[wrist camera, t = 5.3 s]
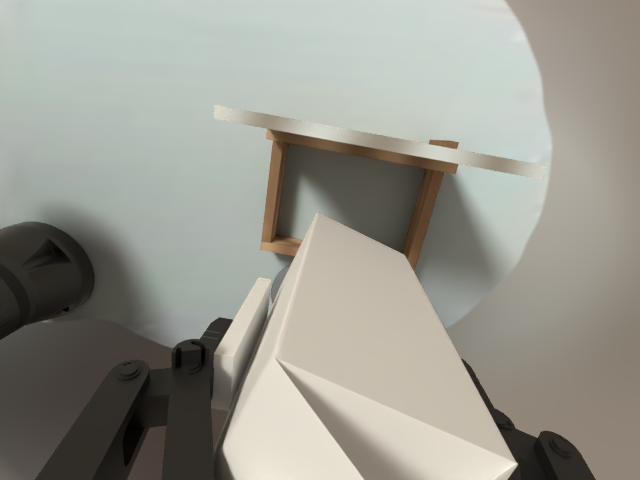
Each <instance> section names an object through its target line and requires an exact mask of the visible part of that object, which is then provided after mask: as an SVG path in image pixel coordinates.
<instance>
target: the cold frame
mask: <svg viewBox="0 0 640 480" xmlns="http://www.w3.org/2000/svg"><path fill="white" fill-rule="evenodd" d="M214 119H219V120H224V121H229V122H235V123H240V124H246V125H251V126H256V127H262V128H267V135H266V139H269V140H273V145H272V154H271V163H270V171H269V180H268V188H267V197H266V205H265V214H264V223H263V231H262V240H261V248H260V250H265V251H270V252H275V253H280V254H286V255H291V256H296V254H297V252H298V250H299V247H300V245H301V243H302V241H303V240H300V239H295V238H290V237H284V236H279V235H276V230H277V223H278V215H279V207H280V200H281V192H282V185H283V177H284V170H285V162H286V155H287V147H288V143H291V144H296V145H302V146H307V147H312V148H318V149H323V150H329V151H334V152H339V153H345V154H350V155H356V156H361V157H366V158H372V159H377V160H382V161H388V162H393V163H399V164H404V165H409V166H415V167H420V168H426V171H425V174H424V178H423V181H422V185H421V188H420V192H419V195H418V199H417V202H416V206H415V209H414V213H413V216H412V220H411V223H410V227H409V230H408V234H407V237H406V241H405V244H404V248H403V251H402V254H404V255H405V256H406V258H407V260H408V262H409V263H410V265H411V267H412V269H413V271H414V270H415V266H416V263H417V260H418V257H419V253H420V250H421V247H422V244H423V240H424V237H425V234H426V231H427V227H428V224H429V221H430V217H431V214H432V211H433V208H434V204H435V201H436V198H437V195H438V191H439V188H440V185H441V182H442V178H443V175H444V172H447V173H452V174H455V173H456V170H457V167H458V164H462V165H467V166H472V167H478V168H483V169H489V170H494V171H499V172H505V173H510V174H516V175H521V176H526V177H532V178H537V179H543V177H544V174H545V172H546V170H547V167H548V166H544V165H539V164H533V163H528V162H523V161H517V160H512V159H506V158H501V157H496V156H490V155H485V154H479V153H474V152H468V151H463V150H458V149H457V147H458V144H459V142H453V141H444V140H430V142H429V144H425V143H420V142H414V141H409V140H403V139H398V138H393V137H387V136H382V135H376V134H371V133H366V132H360V131H355V130H349V129H344V128H338V127H333V126H328V125H322V124H317V123H311V122H306V121H301V120H295V119H290V118H284V117H279V116H273V115H268V114H263V113H257V112H252V111H246V110H241V109H236V108H230V107H225V106H219V105H214Z"/></svg>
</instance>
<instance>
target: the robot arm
mask: <svg viewBox="0 0 640 480" xmlns="http://www.w3.org/2000/svg"><path fill="white" fill-rule="evenodd" d="M93 285H94V275H93V270H92V267H91V264H90V262H89V259H88V257H87V256H86V254H85V253H84V251H83V250H82V248H81V247H80V246H79V245H78V244H77V243H76V242H75V241H74V240H73V239H72V238H71V237H70V236H68V235H67V234H66V233H64V232H63V231H61V230H59V229H57V228H55V227H53V226H51V225H48V224H45V223H40V222H23V223H19V224H15V225H12V226H8V227H5V228H3V229H0V340H2V339H3V338H5V337H7V336H8V335H10V334H11V333H13V332H15V331H16V330H18V329H20V328H21V327H23V326H26V325H30V324H34V323H37V322H41V321H44V320H48V319H52V318H55V317H59V316H62V315H65V314H67V313H69V312H71V311H73V310H74V309H76V308H77V307H79V306H80V305H82V304H83V303H85V302H86V301H87V299H88V298H89V297H90V295H91V293H92V290H93ZM270 287H271V279H266V278H260V277H258V279H257V281H256V283H255V284H254V286H253V288H252V289H251V291H250V293H249V295H248V296H247V298H246V300H245V301H244V303H243V305H242V306H241V308H240V310H239V312H238V313H237V315H236V317H235V318H234V320H232V319H226V318H220V317H219V318H218V319H216V320H215V321H213V322H212V323H211V324H210V325H209V327H208V328H207V330H206V331H205V332H204V334H203V335H202V337H201V338H200V340H199V339H190V340H185V341H183V342H181V343H178V344H177V345H176V346H175V347H174V348H173V351H172V367H171V368H166V369H157V370H150V368H149V366H148V364H147V363H145V362H144V361H140V360H130V361H126V362H123V363H121V364H119V365H117V366H115V367H114V368H113V369H112V370H111V371H110V372H109V374H108V375H107V376H106V378H105V379H104V381H103V382H102V384H101V385H100V386H99V388H98V390H97V391H96V392H95V394H94V395H93V397H92V398H91V400H90V401H89V403H88V404H87V405H86V407H85V408H84V410H83V411H82V413H81V414H80V416H79V417H78V418H77V420H76V421H75V423H74V424H73V426H72V427H71V429H70V430H69V431H68V433H67V434H66V436H65V437H64V438H63V440H62V441H61V443H60V444H59V446H58V447H57V449H56V450H55V452H54V453H53V455H52V456H51V457H50V459H49V460H48V462H47V463H46V464H45V466H44V468H43V469H42V470H41V472H40V473H39V475H38V476H37V477H36V479H35V480H127V478H128V476H129V474H130V471H131V469H132V467H133V464H134V462H135V459H136V457H137V455H138V453H139V451H140V448H141V446H142V443H143V441H144V439H145V437H146V434H147V432H148V430H149V427H157V426H165V425H167V429H166V440H165V449H164V461H163V471H162V480H215V478H214V458H213V439H212V421H211V420H212V419H211V408H214V409H220V410H225V411H230V409H231V406H232V404H233V402H234V399H235V397H236V394H237V392H238V389H239V387H240V384H241V382H242V379H243V377H244V374H245V372H246V369H247V367H248V364H249V362H250V360H251V357H252V355H253V352H254V350H255V347H256V345H257V342H258V340H259V337H260V335H261V332H262V330H263V327H264V325H265V322H266V320H267V313H268V305H269V296H270ZM460 359H461V358H460ZM461 360H462V362H463V364H464V366H465V368H466V370H467V372H468V373H469V375H470V377H471V379H472V381H473V383H474V385H475V387H476V388H477V390H478V392H479V394H480V396H481V398H482V400H483V401H484V403H485V405H486V407H487V409H488V411H489V413H490V414H491V416H492V418H493V420H494V422H495V424H496V426H497V428H498V429H499V431H500V433H501V435H502V437H503V439H504V441H505V442H506V444H507V446H508V448H509V450H510V452H511V454H512V455H513V457H514V459H515V461H516V462H517V463H518V465H517V467H516V468H515V470H514V471H513V473H512V474H511V475H510V477H509V478H508V480H596V479H595V478H594V476H593V474H592V473H591V471H590V469H589V467H588V466H587V464H586V462H585V460H584V459H583V457H582V455H581V454H580V452H579V451H578V450H577V449H576V447H575V446H574V445H573V444H571V443H570V442H569V441H568V440H567V439H565V438H563V437H562V436H560V435H558V434H556V433H554V432H550V431H543V432H541V433H540V435H539V437H538V438H536V437H534V436H531V435H529V434H526V433H524V432H522V431H519V430H518V429H516V428H515V426H514V424H513V423H512V421H511V420H510V419H509V418H508V417H507V416H506V415H505V414H504V413H502V412H500V411H499V410H497V409H494V407H493V405H492V403H491V402H490V400H489V398H488V396H487V394H486V393H485V391H484V389H483V387H482V386H481V385H480V382H479V380H478V379H477V378H476V375H475V373H474V372H473V370H472V368H471V367H470V366H469V365H468V364H467V363H466V362H465V361H464V360H463V359H461ZM211 399H212V403H211Z"/></svg>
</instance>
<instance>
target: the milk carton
mask: <svg viewBox="0 0 640 480" xmlns="http://www.w3.org/2000/svg"><path fill="white" fill-rule="evenodd" d="M213 458H214V478H215V480H508V478H509V477H510V475H511V474H512V473H513V471H514V470H515V468H516V467H517V465H518V463H517V462H516V461H515V459H514V457H513V455H512V454H511V452H510V450H509V448H508V446H507V444H506V442H505V441H504V439H503V437H502V435H501V433H500V431H499V429H498V428H497V426H496V424H495V422H494V420H493V418H492V416H491V414H490V413H489V411H488V409H487V407H486V405H485V403H484V401H483V400H482V398H481V396H480V394H479V392H478V390H477V388H476V387H475V385H474V383H473V381H472V379H471V377H470V375H469V373H468V372H467V370H466V368H465V366H464V364H463V362H462V360H461V359H460V357H459V355H458V353H457V351H456V349H455V347H454V346H453V344H452V342H451V340H450V338H449V336H448V334H447V333H446V331H445V329H444V327H443V325H442V323H441V321H440V319H439V318H438V316H437V314H436V312H435V310H434V308H433V306H432V304H431V303H430V301H429V299H428V297H427V295H426V293H425V291H424V290H423V288H422V286H421V284H420V282H419V280H418V278H417V277H416V275H415V273H414V271H413V269H412V267H411V265H410V263H409V262H408V260H407V258H406V256H405V255H404V254H402V253H400V252H398V251H396V250H394V249H392V248H390V247H388V246H386V245H383V244H381V243H379V242H377V241H375V240H373V239H371V238H369V237H367V236H365V235H363V234H361V233H359V232H357V231H355V230H353V229H351V228H349V227H347V226H344V225H342V224H340V223H338V222H336V221H334V220H332V219H330V218H328V217H326V216H324V215H322V214H320V213H317V214H316V216H315V217H314V219H313V221H312V223H311V225H310V227H309V229H308V231H307V233H306V235H305V237H304V239H303V241H302V243H301V245H300V247H299V250H298V252H297V254H296V256H295V258H294V260H293V262H292V264H291V266H290V268H289V270H288V272H287V274H286V276H285V278H284V280H283V282H282V284H281V286H280V288H279V291H278V293H277V295H276V298H275V300H274V303H273V305H272V308H271V310H270V313H269V315H268V318H267V320H266V323H265V325H264V327H263V330H262V332H261V335H260V337H259V340H258V342H257V345H256V347H255V350H254V352H253V355H252V357H251V360H250V362H249V364H248V367H247V369H246V372H245V374H244V377H243V379H242V382H241V384H240V387H239V389H238V392H237V394H236V397H235V399H234V402H233V404H232V406H231V409H230V411H229V414H228V416H227V419H226V421H225V423H224V426H223V428H222V431H221V433H220V436H219V438H218V441H217V443H216V446H215V448H214V451H213Z"/></svg>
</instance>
